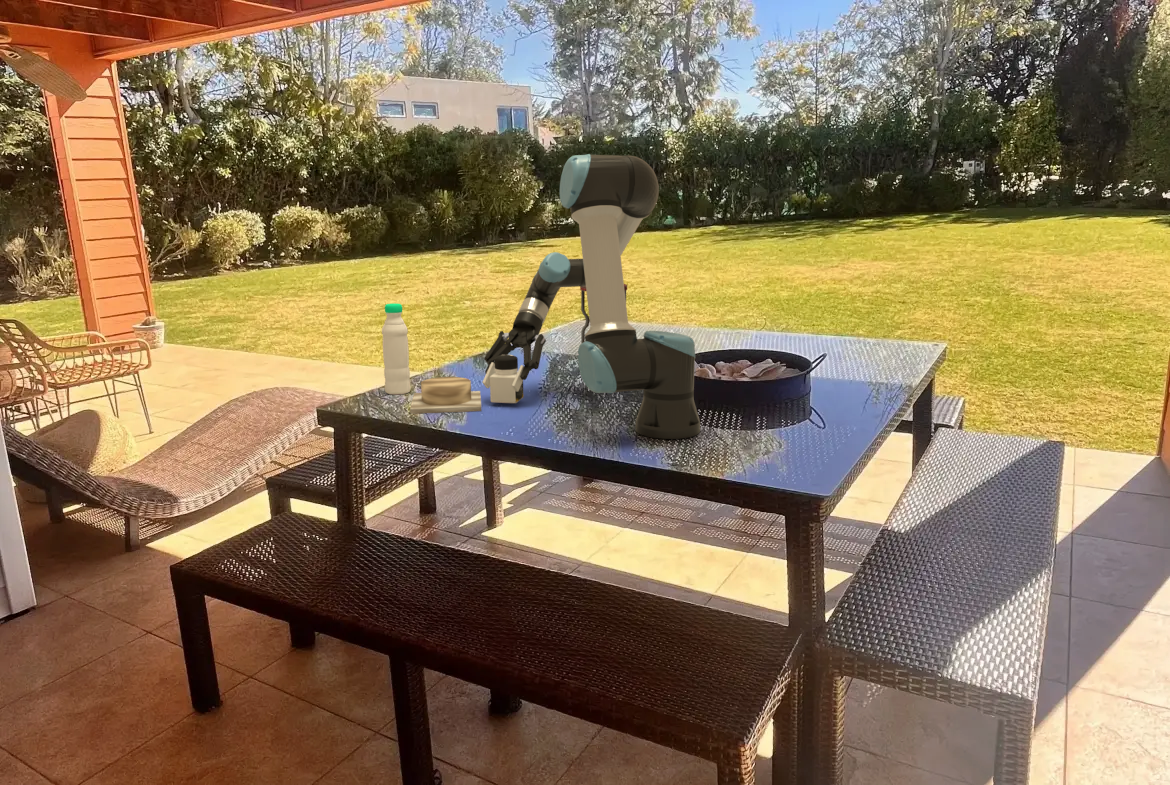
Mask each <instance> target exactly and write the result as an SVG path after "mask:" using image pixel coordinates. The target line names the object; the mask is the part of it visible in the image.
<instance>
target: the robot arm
mask: <svg viewBox="0 0 1170 785" xmlns="http://www.w3.org/2000/svg"><path fill="white" fill-rule="evenodd" d="M559 182H560V183H559V200H560V203H561V206H562V207H563V208H565V209H570V215H571V220H574V221H575V223H577V224H578V226H579V236H580V245H581V254H582V258H568V257H567V255H565V254H562V253H560V252H558V251H555V252H550V253H548V254H547V255H546V256H545V257H544V258H543V260H542V261H541V262H540V265H539V266H538V269H537V272H536V273H535V274H534V276H533V278H532V281H531V283H530V286H529V288H528V289H527V292H526V295H525V297H524V299H523V301H522V302H521V306H520V307H519V310H518V313H517V314H516V316H515V319H514V321H513V323H512V324H513V325H512V328H511V330H510V331H509V332H504V331H503V330H501V331H499V332H498V336H497V338H496V340H495V341H494V343H493V345H492V346H491V347H490V349H489V350H488V352H487V353H486V354H485V356H484V358H483V360H485V363H487V366H486V369H485V371H484V374H485V376H484V378H483V380H482V381H481V382H482V384H483V386H485V387H484V388H486V389H490V376H491V375H493V374H494V373H496V371H495V358H496V357H497V356H499V355H510V353H511V352H512V351H514V350H516V349H519V348H520V349H522V350H523V352H522V353H523V363H522V364H521V365H519V367H518V371H517V372H518V373H517V375H516V377H515V380H514V382H513V384H512V387H513V388H514V389H515V391H517V392H518V391H519V389H520V387H521V384H522V382H523V383H524V381H526V380H527V378H528V376H529V373H530V371H532V370H538V369H539V368H540V361H541V358H542V352H543V349H544V345H545V343H546V342H547V340H546V337H545V336H544V335H543V334H542V333H540V332H541V330H542V328H543V325H544V322H545V321H546V318H547V315H548V313H549V311H550V308H551V307H552V304H553V302H554V300H555V298H556V296H557V294H558V292H559V291H560V289H561V288H573V287H574V288H575V287H580V286H586V291H585V292H586V299H587V307H588V316H589V319H590V322H589V329H588V330H587V332H585V342H583V343H582V344H581V343H580V345H579V347H578V349H577V354H578V355H577V363H578V369H579V372H580V375H581V379H582V380H583V383H584V384H585V385H586V387H587V388H588V389H589V390H590V391H591V392H593V393H595V394H605V393H607V394H614V393H621V392H622V393H623V392H632V391H642V390H643V392H642V393H643V394H642V395H643V398H642V401H641V404H640V407H639V409H638V413H637V416H636V419H635V432H636V433H638V434H639V435H642V436H644V437H649V438H654V439H660V440H661V439H662V440H678V439H679V440H680V439H687V438H692V437H695V436H697V435H699V434H700V432H701V421H700V416H699V414H698V409H697V407H696V403H695V400H694V392H695V391H694V390H695V388H694V387H695V367H696V366H695V364H696V362H695V361H696V349H695V344H696V343H695V340H694V339H693V338H692V337H691V336H689V335H685V334H681V333H676V332H671V331H670V332H669V331H660V330H647V331H645V332H644V334H643V336H642V337H643V338H637V330H636V328H634V327H633V326H632V325H631V324H630V323H629V319H628V318H629V316H628V310H627V309H628V308H627V298H626V299H625V290H624V284H625V282H624V275H623V274H624V273H623V266H622V259H621V258H622V255H623V253H624V251H625V249H626V248H627V246H628V245H629V243H630V241H631V239H632V238H633V236H634V234H635V233H636V231H637V229H638V228H639V226H640V224H641V223H642V220H643V219H645V218H647V217H649V216H650V215H651V214H652V212H653V210H654V209H655V207H656V204H657V202H658V198H659V192H660V191H659V190H660V188H659V187H660V186H659V181H658V178H657V175H656V173H655V171H654V169H653V168H652V167H651V166H650V164H648V163H647V161H645V160H644V159H642V158H640V157H638V156H635V155H634V156H633V155H628V154H627V155H610V154H609V155H608V154H607V155H606V154H590V153H588V154H581V155H580V154H578V155H577V154H576V155H572V156H571V157H569V158H568V159H567V161H566V162H565V163H564V166H563V169H562V173H561V176H560V181H559ZM533 343H534V346H533V351H532V344H533ZM531 351H532V353H531Z"/></svg>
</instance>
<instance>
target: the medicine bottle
mask: <svg viewBox="0 0 1170 785" xmlns="http://www.w3.org/2000/svg"><path fill="white" fill-rule="evenodd" d="M518 361H519V359H518V357H517V356H515V355H514V354H508V355H499V356H497V357H496V358H495V361H494V362H495V371H496V373H494V374H493V375H491V376H490V387H489V391H490V392H489V394H490V397H489V398H490V402H491V403H496V404H498V403H500V404H501V403H502V404H517V403H518V402H520V401H521V400H522V399H523V398H524V381H523V382H522V384H521V387H520V389H519V391H518V392H517V391H515V389H514V388H513V387H512V384H513V382H514V380H515V377H516V375H517V373H518V370H519V367H518V366H519V365H518V364H519V363H518Z"/></svg>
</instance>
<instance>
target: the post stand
mask: <svg viewBox="0 0 1170 785" xmlns="http://www.w3.org/2000/svg"><path fill="white" fill-rule="evenodd" d="M471 381H472V380H470V379H469V378H466V377H458V376H439V377H432V378H428V379H424V380H422V381H421V382H420V387H421V388H420V390H421V391H420V392H414V393H413V396H412V401H411V404H410V406H409V414H412V415H413V414H433V413H434V414H436V413H437V414H440V413H441V414H442V413H465V412H468V413H469V412H482V397H481V390H473V391H472V382H471Z"/></svg>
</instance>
